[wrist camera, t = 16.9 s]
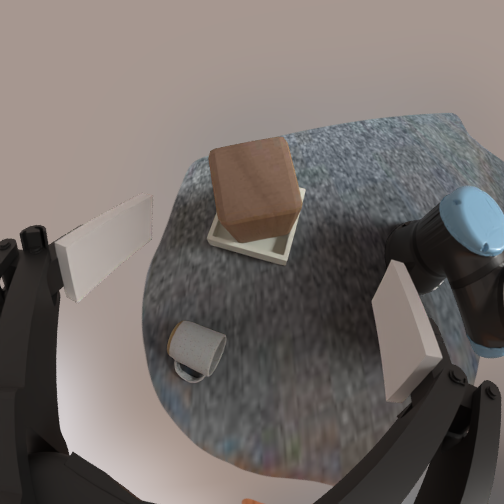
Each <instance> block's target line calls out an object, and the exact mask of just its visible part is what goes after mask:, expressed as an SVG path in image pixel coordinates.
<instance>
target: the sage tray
mask: <svg viewBox="0 0 504 504" xmlns="http://www.w3.org/2000/svg"><path fill="white" fill-rule="evenodd" d="M299 190H300V194H301V199H302V202H303V198H304V194H305V190H306V189H303V188H299ZM299 214H300V213H299ZM298 218H299V215H298V217H297V219H296V221H295V223H294V225H293V227H292V229H291V231H290V233H289V234H287V235H283V236H278V237H273V238H267V239H262V240H257V241H252V242H246V243H239V242H237V240H236V239H235V238H234V237H233V236H232V235H231V234H230V233H229V232H228V231H227V230H226V229H225V228H224V227H223V225H222V224H221V223H220V221H219V220H218V216H217V212H216V215H215V218H214V220H213V223H212V226H211V228H210V231H209V234H208V236H207V240H208V242H209V244H210V245H212V246H216V247H219V248H223V249H226V250H230V251H233V252H237V253H240V254H244V255H248V256H251V257H255V258H258V259H262V260H265V261H269V262H273V263H276V264H280V265H283V266H286V263H287V260H288V256H289V252H290V249H291V245H292V241H293V237H294V234H295V230H296V226H297V222H298Z"/></svg>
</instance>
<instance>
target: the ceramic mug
mask: <svg viewBox="0 0 504 504" xmlns="http://www.w3.org/2000/svg"><path fill="white" fill-rule="evenodd" d="M225 344H226V335H224V334H222V333H219V332H216V331H214V330H211V329H208V328H206V327H203V326H201V325H198V324H196V323H193V322H190V321H185V320H184V321H181V322H179V323H178V324H177V325H176V326H175V328H174V329H173V331H172V333H171V335H170V337H169V340H168V344H167V351H168V354H169V356H170V357H172V358H173V359H174V360H175V362H174V366H175V370H176V372H177V374H178V375H179V376H180V377H181V378H182V379H184V380H186V381H188V382H190V383H197V382H199V381H201V380H202V379H203V378H204V377H205V376H208V377H209V376H210V375H211V374H212V373H213V372H214V370H215V369H216V367H217V365H218V363H219V360H220V358H221V356H222V353H223V351H224V348H225ZM180 363H182V364H184V365H186V366H188V367H190V368H191V369H193V370H195V371H197V372H199V373H201V374H203V376H202V377H200V378H195V377H192V376H190V375H189V374H187V373H186V372H185V371H183V370H182V369H181V367H180Z"/></svg>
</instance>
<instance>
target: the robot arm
mask: <svg viewBox="0 0 504 504" xmlns="http://www.w3.org/2000/svg"><path fill="white" fill-rule="evenodd" d="M152 208H153V195H149V194H144V193H141V194H139V195H137V196H135V197H133V198H131V199H129V200H127V201H125V202H123V203H121V204H119V205H118V206H116V207H114V208H112V209H110V210H108V211H107V212H105V213H103V214H101V215H99V216H98V217H96V218H94V219H92V220H90V221H89V222H87V223H85V224H83V225H80V226H79V227H77V228H75V229H74V230H73V231H71V232H69V233H67V234H65V235H64V236H62V237H60V238H59V239H57V240H56V241H54V242H53V243H51V244H50V245H48V240H47V233H46V228H45V227H44V226H41V225H35V226H30V227H28V228H26V229H24V230H23V231H22V232H21V233H20V238H21V243H22V248H23V250H19V249H18V248H17V243H16V240H14V239H4V240H2V241H1V242H0V278H1V277H2V279H3V282H4V285H5V286H4V288H3V289H2V288H1V286H0V504H155V503H150V502H146V501H142V500H140V499H139V498H138V497H136V496H135V495H134V494H132V493H131V492H130V491H129V490H127V489H126V488H125V487H124V486H122V485H121V484H119V483H118V482H117V481H115V480H114V479H113V478H112V477H110V476H109V475H108V474H106V473H105V472H104V471H102V470H101V469H99V468H97V467H96V466H94V465H92V464H91V463H89V462H87V461H86V460H85V459H83V458H82V457H80V456H78V455H77V454H76V453H74V452H72V454H71V455H69V452H68V448H67V445H66V442H65V440H64V438H63V436H62V433H61V430H60V425H59V416H58V403H57V387H56V386H57V384H56V347H57V327H58V314H59V305H60V293H59V290H60V289H61V288H62V287H63V286H64V289H65V293H66V296H67V298H69V299H71V300H73V301H75V302H77V303H78V302H79V301H81V300H82V299H83V298H84V297H85V296H86V295H87V294H88V293H89V292H90V291H91V290H93V289H94V288H95V287H96V286H97V285H98V284H99V283H100V282H102V281H103V280H104V279H105V278H106V277H107V276H108V275H110V274H111V273H112V272H113V271H114V270H115V269H116V268H118V267H119V266H120V265H121V264H122V263H124V262H125V261H126V260H127V259H128V258H130V257H131V256H132V255H133V254H134V253H136V251H138V250H139V249H140V248H142V247H143V246H144V245H145V244H147V243H148V242H149V241H150V240H152ZM385 260H386V265H387V270H386V273H385V275H384V277H383V279H382V281H381V283H380V285H379V287H378V289H377V291H376V293H375V295H374V297H373V299H372V301H371V302H372V307H373V312H374V317H375V322H376V328H377V334H378V340H379V346H380V353H381V359H382V367H383V375H384V383H385V393H386V401H388V402H397V403H402V402H403V401H404V400H405V399H406V398H407V397H408V396H409V395H410V394H411V400H412V402H411V403H410V404H409V405H408V406H407V407H406V408H405V409H404V410H403V411H402V412H401V413H400V414H399V415H398V416H397V417H398V419H397V420H396V422H395V423H394V424H393V425H392V427H391V428H390V429H389V430H388V431H387V433H386V434H385V435H384V436H383V437H382V438H381V440H380V441H379V442H378V443H377V444H376V445H375V446H374V447H373V449H372V450H371V451H370V452H369V453H368V454H367V455H366V456H365V457H364V458H363V459H362V460H361V461H360V462H359V463H358V464H357V465H356V466H355V467H354V468H353V469H352V470H351V471H350V472H349V473H348V474H347V475H346V476H345V477H344V478H343V479H342V480H341V481H339V482H338V483H337V484H336V485H335V486H334V487H333V488H332V489H330V490H329V491H328V492H327V493H326V494H325V495H323V496H322V497H321V498H320V499H318V500H317V501H316V502H315V503H313V504H401V503H402V502H403V500H404V499H405V498H406V496H407V495H408V494H409V492H410V491H411V489H412V488H413V487H414V485H415V484H416V483H417V481H418V480H419V478H420V477H421V475H422V474H423V472H424V471H425V469H426V468H427V466H428V464H429V463H430V464H429V467H428V470H427V472H426V475H425V478H424V480H423V483H422V485H421V488H420V490H419V493H418V495H417V497H416V499H415V502H414V504H488V502H489V498H490V494H491V489H492V485H493V480H494V475H495V469H496V463H497V456H498V448H499V438H500V425H501V423H500V422H501V394H500V392H499V389H498V387H497V386H496V385H495V384H494V383H493V382H491V381H488V380H486V381H484V382H483V383H482V384H481V385H480V386H479V387H478V388H477V387H475V386H473V385H470V384H468V380H467V376H466V375H465V373H464V372H463V370H462V369H461V368H459V367H458V366H456V365H453V364H452V363H451V361H450V358H449V355H448V352H447V349H446V346H445V344H444V343H443V342H444V341H443V338H442V337H441V333H440V331H439V328H438V326H437V325H436V324H435V322H434V321H433V320H432V318H428V316H427V314H426V312H425V309H424V307H423V304H422V302H421V300H420V297H419V295H423V294H426V293H429V292H432V291H434V290H435V289H437V288H438V287H439V286H440V285H441V284H442V282H443V281H444V279H445V278H447V279H448V281H449V284H450V286H451V289H452V291H453V294H454V297H455V300H456V302H457V305H458V308H459V311H460V314H461V317H462V320H463V323H464V327H465V330H466V335H467V337H468V339H469V340H470V343H471V346H472V348H473V350H474V352H475V353H476V354H478V355H479V356H481V357H485V358H497V357H502V356H504V215H503V213H502V211H501V209H500V208H499V206H498V205H497V203H496V202H495V201H494V200H493V199H492V198H491V197H490V196H489V195H488V194H487V193H486V192H484V191H481V190H480V189H479V188H477V187H474V186H462V187H459V188H457V189H456V190H455V191H453V192H452V193H451V194H448V195H446V196H445V197H444V198H443V200H442V201H441V202H440V203H439V204H438V205H437V206H436V207H434V208H433V209H432V210H431V211H430V212H429V213H428V214H426V215H425V216H424V217H423V218H422V219H420V220H414V221H409V222H406V223H403V224H402V225H400V226H399V227H398V228H396V229H395V230H394V231H393V232H392V233H391V235H390V236H389V238H388V241H387V243H386V248H385ZM467 432H468V433H467Z"/></svg>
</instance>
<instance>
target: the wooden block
mask: <svg viewBox="0 0 504 504" xmlns="http://www.w3.org/2000/svg"><path fill="white" fill-rule="evenodd" d="M209 165H210V171H211V178H212V185H213V191H214V197H215V204H216V210H217V216H218V220H219V221H220V223H221V224H222V225H223V227H224V228H225V229H226V230H227V231H228V232H229V233H230V234H231V235H232V236H233V237H234V238H235V239H236V240H237V242H239V243H246V242H252V241H257V240H262V239H267V238H273V237H278V236H283V235H287V234H289V233H290V231H291V229H292V227H293V225H294V223H295V221H296V219H297V217H298V215H299V213H300V211H301V208H302V199H301V194H300V190H299V186H298V182H297V178H296V174H295V170H294V166H293V162H292V158H291V154H290V150H289V146H288V143H287V142H286V140H285V139H284V137H274V138H268V139H262V140H256V141H251V142H246V143H240V144H235V145H230V146H226V147H221V148H216V149H213V150H212V151H210V155H209Z"/></svg>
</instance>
